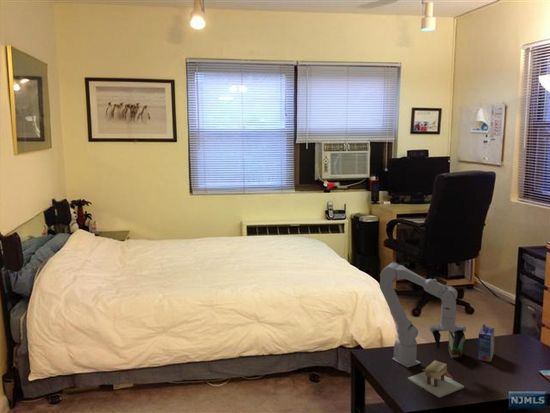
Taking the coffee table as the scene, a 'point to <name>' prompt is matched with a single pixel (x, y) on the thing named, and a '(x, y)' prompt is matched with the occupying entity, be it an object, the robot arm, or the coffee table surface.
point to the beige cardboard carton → (435, 372)
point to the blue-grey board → (442, 388)
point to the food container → (454, 351)
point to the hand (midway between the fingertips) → (446, 347)
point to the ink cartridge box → (486, 344)
